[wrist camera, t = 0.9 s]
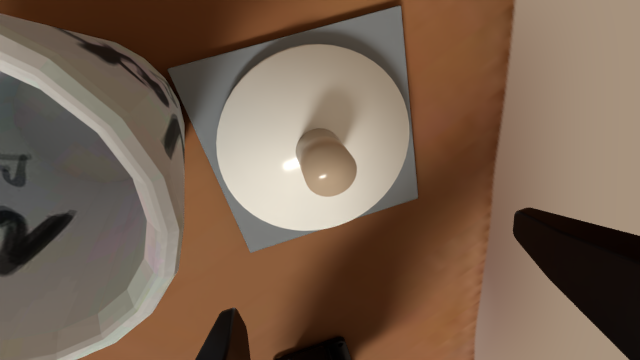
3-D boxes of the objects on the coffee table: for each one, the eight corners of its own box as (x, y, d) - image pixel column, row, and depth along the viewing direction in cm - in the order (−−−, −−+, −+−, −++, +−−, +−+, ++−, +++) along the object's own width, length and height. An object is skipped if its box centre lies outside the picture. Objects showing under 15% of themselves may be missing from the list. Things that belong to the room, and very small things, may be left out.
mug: (251, 145, 18) (258, 262, 9) (42, 274, 19) (-128, 491, 10) (105, -54, 13) (-174, -198, 4) (-173, 135, 14) (-872, 331, 5)
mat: (415, 195, 22) (418, 198, 22) (250, 249, 21) (250, 252, 21) (397, 5, 16) (400, 5, 16) (169, 68, 15) (167, 69, 15)
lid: (410, 194, 22) (440, 226, 18) (255, 244, 21) (257, 287, 18) (392, 18, 16) (430, 19, 13) (182, 77, 15) (165, 93, 12)
